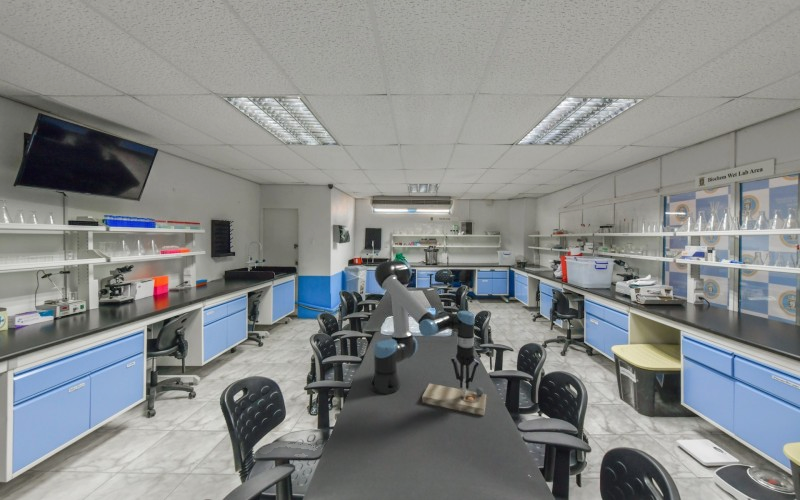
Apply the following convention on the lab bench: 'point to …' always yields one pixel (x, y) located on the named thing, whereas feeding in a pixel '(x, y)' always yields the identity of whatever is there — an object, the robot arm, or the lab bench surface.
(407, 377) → the lab bench surface
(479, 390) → the grey ball
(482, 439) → the lab bench surface
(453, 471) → the lab bench surface
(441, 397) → the board
